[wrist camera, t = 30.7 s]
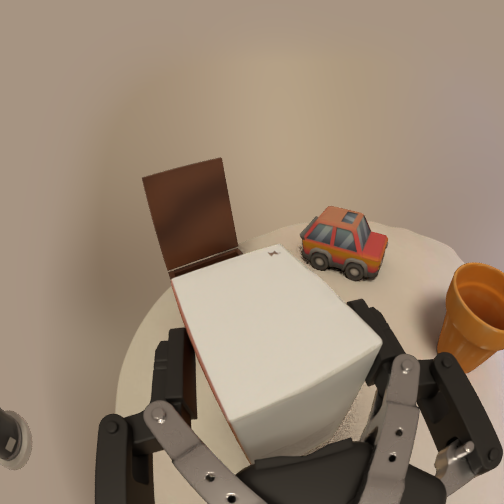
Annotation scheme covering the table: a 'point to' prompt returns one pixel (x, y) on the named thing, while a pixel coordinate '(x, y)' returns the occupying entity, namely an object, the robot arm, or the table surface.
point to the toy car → (344, 243)
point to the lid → (191, 212)
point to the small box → (275, 349)
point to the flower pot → (474, 315)
